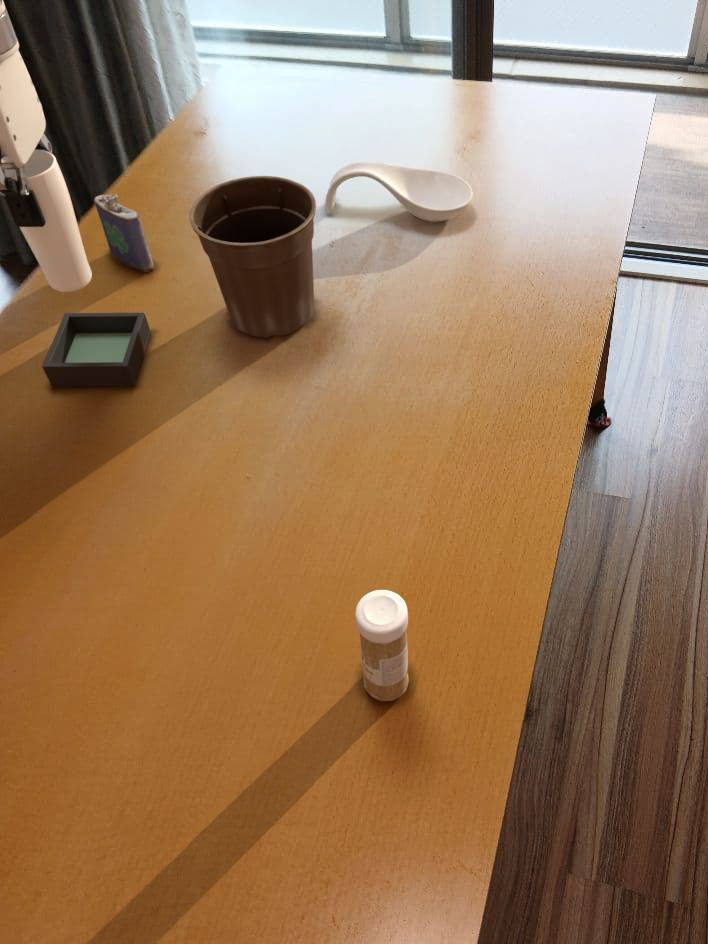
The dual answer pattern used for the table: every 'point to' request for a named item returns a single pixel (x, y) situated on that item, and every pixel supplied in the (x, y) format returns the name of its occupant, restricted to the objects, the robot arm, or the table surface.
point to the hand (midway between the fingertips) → (41, 205)
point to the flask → (124, 233)
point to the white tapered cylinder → (54, 225)
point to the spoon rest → (411, 189)
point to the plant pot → (260, 251)
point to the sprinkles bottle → (383, 644)
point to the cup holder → (97, 350)
